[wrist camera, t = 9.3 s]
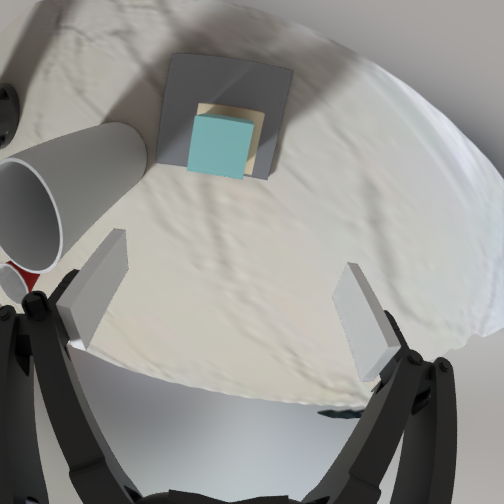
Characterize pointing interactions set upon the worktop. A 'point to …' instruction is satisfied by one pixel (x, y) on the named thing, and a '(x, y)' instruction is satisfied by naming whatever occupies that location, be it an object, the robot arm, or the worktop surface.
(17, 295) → the plastic cup
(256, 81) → the slate board
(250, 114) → the beech block
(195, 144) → the teal block
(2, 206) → the cylinder vase
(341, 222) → the worktop surface
